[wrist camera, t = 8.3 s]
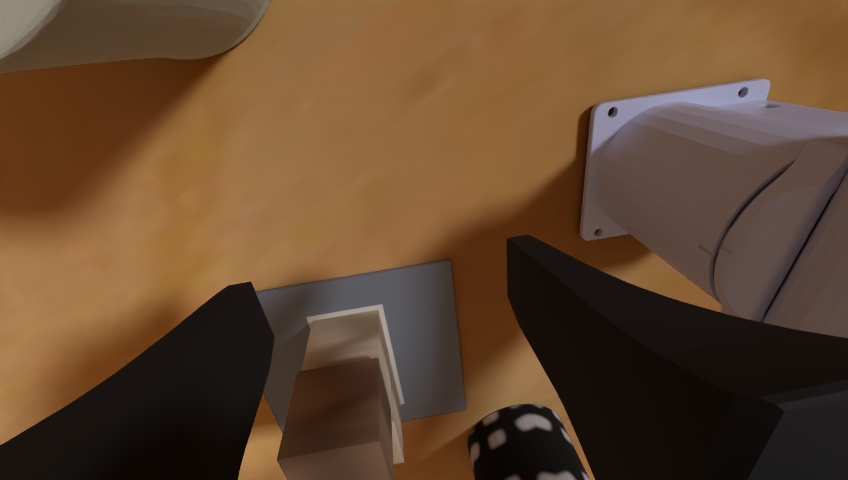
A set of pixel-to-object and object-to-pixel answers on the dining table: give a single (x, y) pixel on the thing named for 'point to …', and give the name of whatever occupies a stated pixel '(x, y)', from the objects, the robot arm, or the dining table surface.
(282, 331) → the mat
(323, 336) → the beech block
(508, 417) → the spotted tube
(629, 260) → the dining table surface
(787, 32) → the dining table surface
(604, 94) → the dining table surface
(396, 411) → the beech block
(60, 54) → the can
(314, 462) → the walnut block
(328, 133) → the dining table surface
